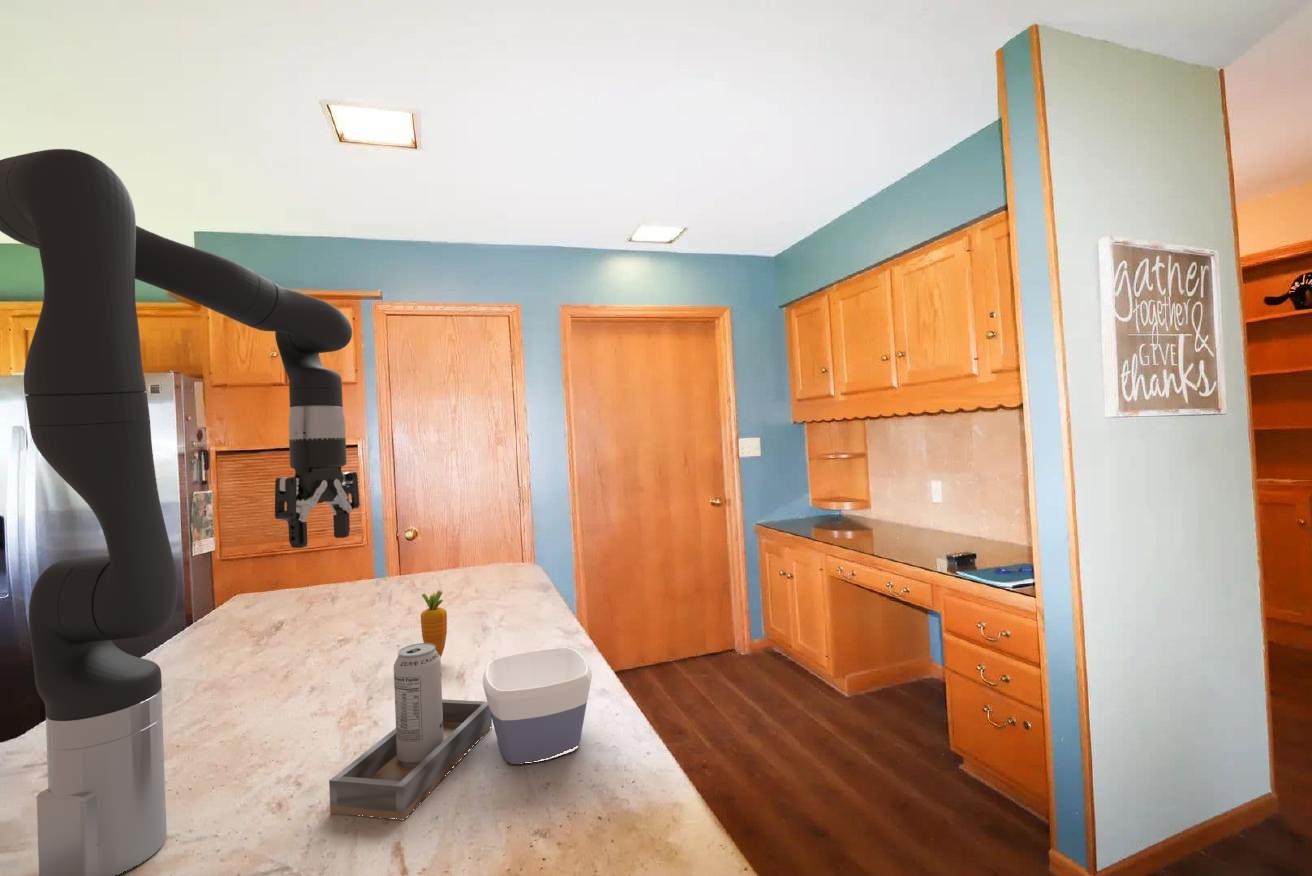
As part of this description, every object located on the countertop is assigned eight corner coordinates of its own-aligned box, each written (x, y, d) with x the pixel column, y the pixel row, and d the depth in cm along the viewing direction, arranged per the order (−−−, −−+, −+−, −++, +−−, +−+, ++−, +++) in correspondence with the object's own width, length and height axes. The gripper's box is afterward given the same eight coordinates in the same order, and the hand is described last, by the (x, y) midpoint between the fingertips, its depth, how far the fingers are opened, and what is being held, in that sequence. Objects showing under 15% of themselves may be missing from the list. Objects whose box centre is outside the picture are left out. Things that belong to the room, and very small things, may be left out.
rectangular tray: (404, 820, 67) (403, 786, 67) (330, 813, 69) (329, 780, 69) (491, 727, 89) (491, 701, 89) (433, 723, 91) (432, 698, 91)
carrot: (416, 667, 115) (414, 592, 115) (436, 658, 119) (434, 586, 119) (434, 670, 113) (431, 594, 113) (453, 661, 117) (451, 588, 117)
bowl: (481, 729, 88) (479, 658, 88) (579, 709, 94) (576, 642, 94) (489, 784, 74) (486, 698, 74) (604, 756, 79) (601, 676, 80)
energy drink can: (452, 753, 80) (448, 646, 80) (411, 774, 75) (407, 660, 75) (429, 741, 83) (425, 638, 84) (388, 760, 79) (384, 651, 79)
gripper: (302, 435, 80) (306, 551, 80) (370, 436, 94) (374, 534, 94) (256, 437, 82) (260, 551, 81) (331, 437, 96) (334, 534, 95)
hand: (321, 542), depth 88 cm, fingers open, 8 cm apart
